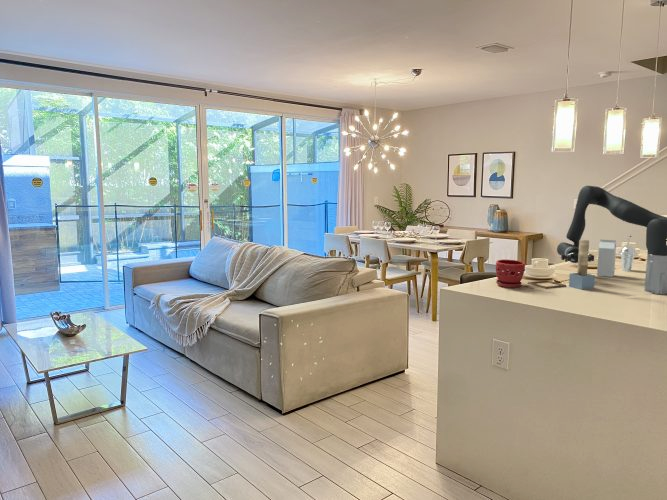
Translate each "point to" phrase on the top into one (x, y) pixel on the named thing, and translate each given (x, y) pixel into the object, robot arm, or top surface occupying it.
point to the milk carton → (606, 258)
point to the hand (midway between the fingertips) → (580, 259)
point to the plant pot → (509, 273)
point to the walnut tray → (547, 286)
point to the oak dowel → (583, 257)
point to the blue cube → (581, 281)
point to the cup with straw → (627, 257)
